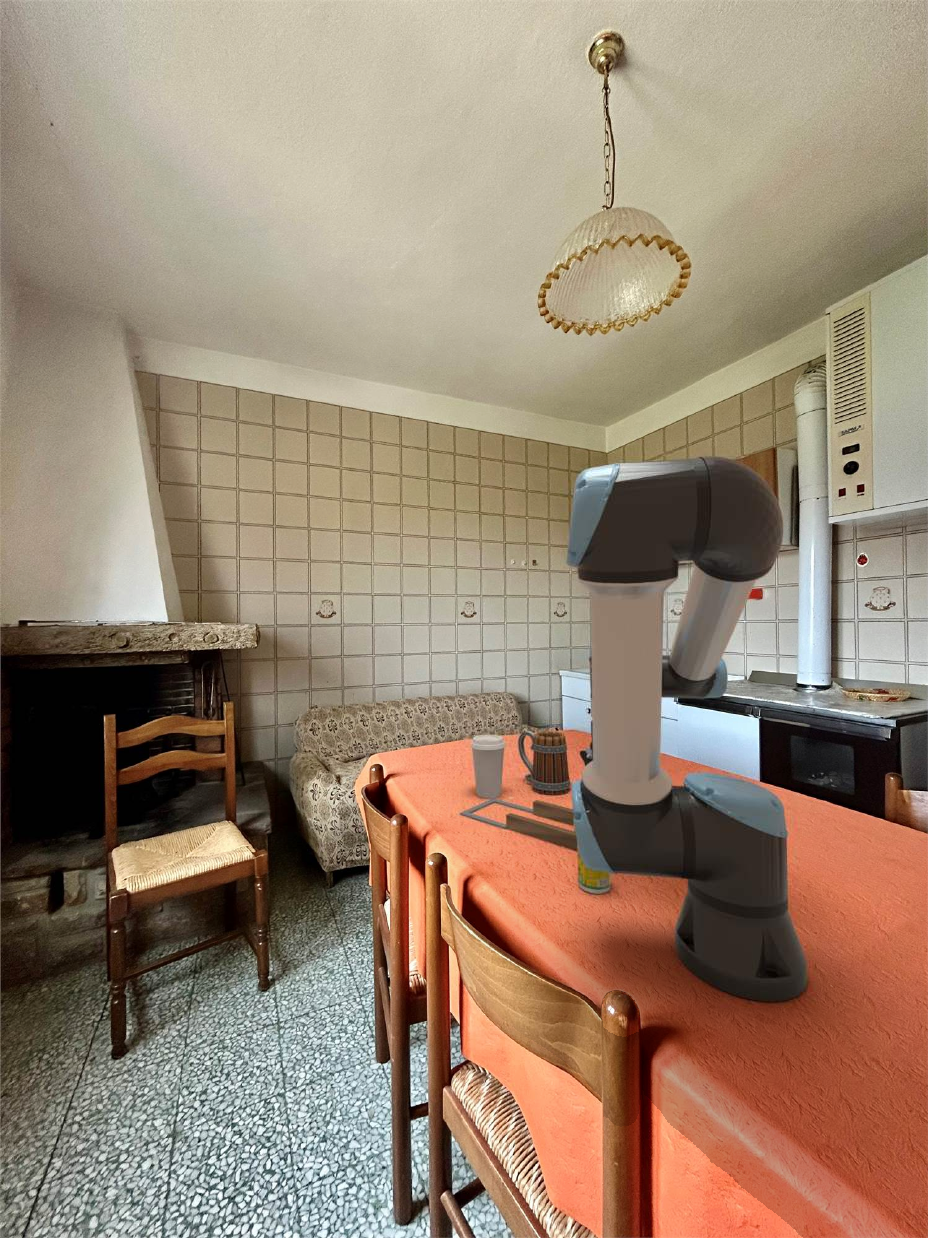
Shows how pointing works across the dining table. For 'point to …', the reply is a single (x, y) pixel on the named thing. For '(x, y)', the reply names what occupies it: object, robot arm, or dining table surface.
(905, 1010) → the dining table surface
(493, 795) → the coffee cup
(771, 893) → the robot arm
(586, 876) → the supplement bottle
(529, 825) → the chute
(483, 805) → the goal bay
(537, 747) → the mug
